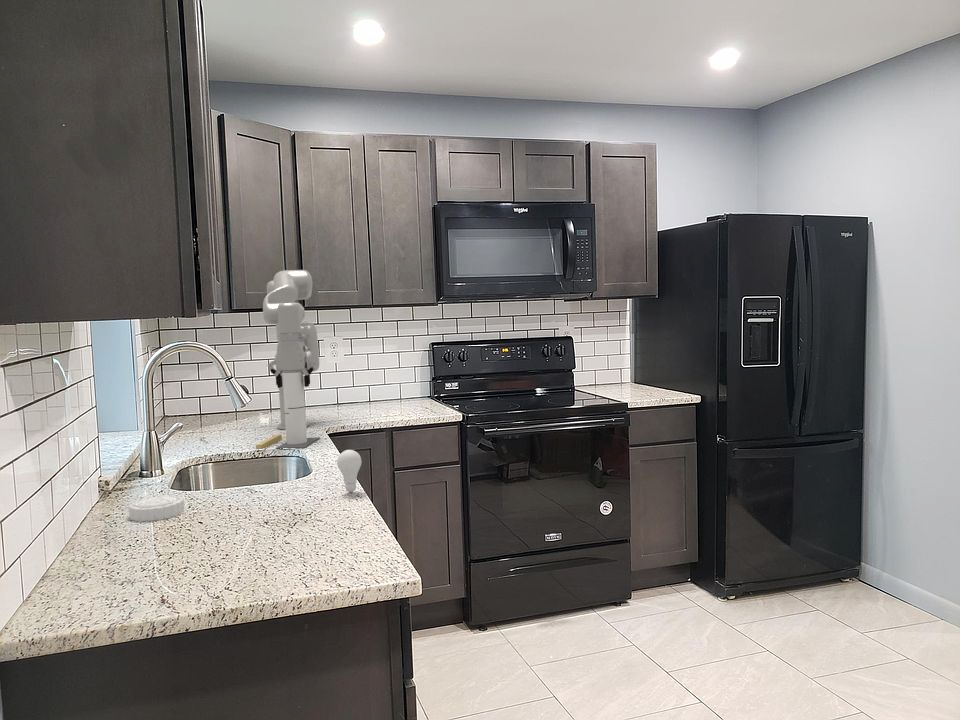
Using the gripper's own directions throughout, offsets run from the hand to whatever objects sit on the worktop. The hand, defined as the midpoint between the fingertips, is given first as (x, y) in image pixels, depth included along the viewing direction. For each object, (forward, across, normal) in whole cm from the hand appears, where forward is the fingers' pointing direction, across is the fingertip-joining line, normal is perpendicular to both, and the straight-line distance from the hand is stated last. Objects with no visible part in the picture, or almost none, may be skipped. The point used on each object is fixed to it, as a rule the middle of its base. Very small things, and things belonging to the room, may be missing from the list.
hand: (293, 386), depth 256 cm
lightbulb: (+21, -37, +70) cm, 82 cm away
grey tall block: (+20, 0, 0) cm, 20 cm away
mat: (+20, 0, 0) cm, 20 cm away
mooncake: (+21, +6, +85) cm, 88 cm away
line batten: (+20, +10, 0) cm, 23 cm away
